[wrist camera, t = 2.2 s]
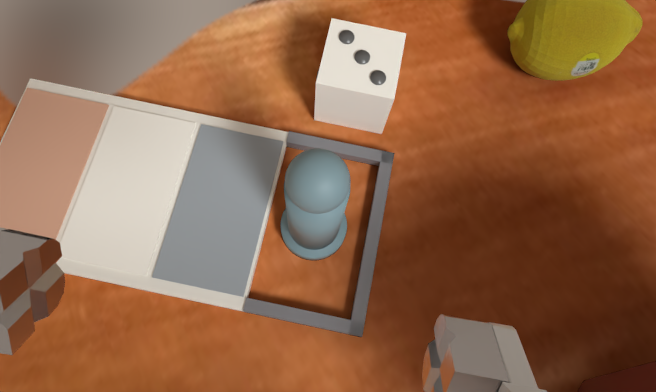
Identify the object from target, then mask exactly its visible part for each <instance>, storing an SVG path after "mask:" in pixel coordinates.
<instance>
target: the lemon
mask: <svg viewBox="0 0 656 392" xmlns="http://www.w3.org/2000/svg"><path fill="white" fill-rule="evenodd" d="M641 27H642V19H641V17H640V14H639V13H638V12H637V11H636V10H635V9H634V8H632V7H631V6H630V5H629V4H628V3H627V2H626V1H625V0H527V1H526V2H525V4H524V5H523V6H522V8H521V9H520V11H519V12H518V14H517V16H516V18H515V20H514V23H512V24H511V25H510V26H509V28H508V31H507V36H508V38H509V40H510V50H511V53H512V56H513V58H514V61H515V62H516V63H517V65H518V66H519V67H520V68H521V69H522V70H524V71H525V72H526V73H528V74H530V75H532V76H534V77H538V78H541V79H545V80H560V81H562V80H571V79H575V78H579V77H583V76H586V75H589V74H592V73H594V72H596V71H598V70H600V69H601V68H603V67H604V66H606V65H607V64H609V63H610V62H612V61H613V60H614V59H615V58H616V57H617V56H618V55H619V54H620V53H621V51H622V50H623V49H624V47H625V46H626V45H627V44H628V43H630V42H631V41H633V39H634V38H635V37H636V36H637V34H638V33H639V31H640V29H641Z"/></svg>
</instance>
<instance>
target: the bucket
mask: <svg viewBox="0 0 656 392" xmlns="http://www.w3.org/2000/svg"><path fill="white" fill-rule="evenodd" d="M578 392H656V361H655V362H651V363H647V364H644V365H640V366H636V367H632V368H629V369H625V370H621V371H617V372H614V373H610V374H606V375H603V376H599V377H595V378H591V379H588V380H584V381H583V383H582V385H581V387H580V388H579V390H578Z"/></svg>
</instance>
